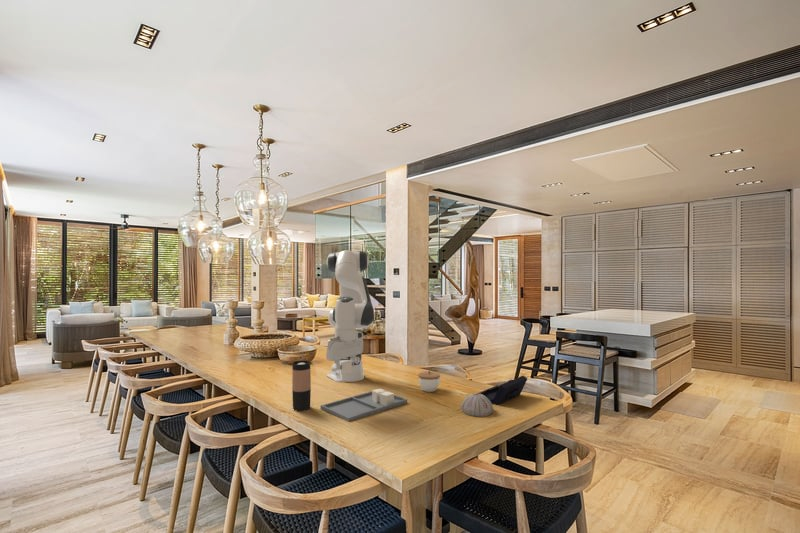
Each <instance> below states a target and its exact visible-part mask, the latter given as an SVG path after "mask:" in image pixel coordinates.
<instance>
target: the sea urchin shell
mask: <svg viewBox="0 0 800 533" xmlns="http://www.w3.org/2000/svg"><path fill="white" fill-rule="evenodd" d="M460 409H461V412H463V414H464V413H465V414H466V415H468V416H471V417H487V416H490V415H492V414H493V413H494V404H492V403H491V402H490V401H489V399H488V398H487V397H486V396H484V395H483V394H477V393H470V394H469V395H467V396H466V397H465V398H464V399H463V400H462V402H461V404H460Z"/></svg>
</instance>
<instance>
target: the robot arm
mask: <svg viewBox="0 0 800 533" xmlns="http://www.w3.org/2000/svg"><path fill="white" fill-rule="evenodd" d="M369 263H370V259H369V256H368V253H367V252H366V251H361V250H360V251H357V250H356V251H355V250H349V249H345V250H342V251H338V252H330V253H329V254H328V255H327V259H326V267H327V268H328V270H329V271H330V272H333V273H334V274H335V275H334V276H335V279H336V282H337V283H338V284H339V285H338V288H339V297H338V298H337V299H336V301H335V306H334V308H332V309H331V310H330V311H329V313H328V316H327V320H328V323H329V325H331V327H332V328H333V329H334V337H331V338H329V340H328V341H327V346H326V353H325V354H326V355H325V358H326V360H327V361H329V362H333V364H332V365H331V368H330V369H331V370H330V372H329V373H327V374H326V376H327V377H328V378H330V379H331V380H333V381H335V383H343V382H344V383H352V382H353V383H354V382H360V381H362V380H364V378H365V373H364V367H363V366H364V363H363V360H362V357H363V356H362V354H363V351H364V340H363V337H364V333H363V332H361V331H359V330H356V329H366V328H370V327H371V326H372V324H373V322H374V321H375V317H376V313H375V309H374V307H373V303H372V300H371V295H370V291H369V288H368V284H367V281H366V278H365V277H364V276H362V275H361V273H363V272H364V271H366V270H367V269H368V267H369ZM359 272H360V273H359ZM341 360H351V362H352V373H342V374H341V373H340V370H341V369H342V365H340V361H341Z"/></svg>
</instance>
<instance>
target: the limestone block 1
mask: <svg viewBox="0 0 800 533" xmlns="http://www.w3.org/2000/svg"><path fill="white" fill-rule="evenodd" d="M340 365H342V369H341V370H340V373H341V374H342V373H352V362H351V360H341V361H340Z"/></svg>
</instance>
